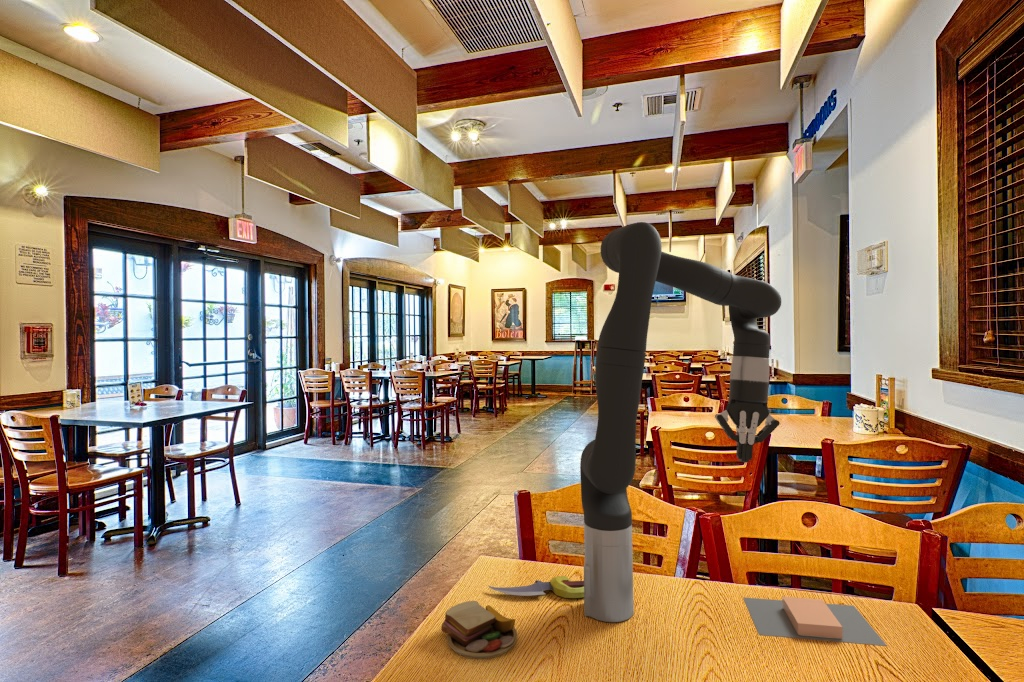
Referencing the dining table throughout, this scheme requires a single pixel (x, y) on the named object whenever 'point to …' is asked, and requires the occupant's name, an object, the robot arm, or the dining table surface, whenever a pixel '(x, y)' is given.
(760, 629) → the mat
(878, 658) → the dining table surface
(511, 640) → the toy sandwich meal
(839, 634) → the tile
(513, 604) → the dining table surface
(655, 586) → the dining table surface
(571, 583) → the knife
